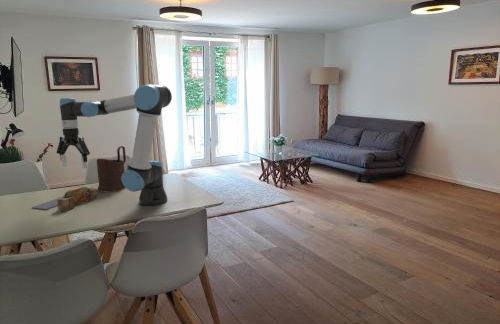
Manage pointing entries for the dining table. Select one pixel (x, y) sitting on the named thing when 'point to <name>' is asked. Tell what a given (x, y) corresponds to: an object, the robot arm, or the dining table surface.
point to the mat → (47, 205)
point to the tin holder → (67, 203)
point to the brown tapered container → (111, 173)
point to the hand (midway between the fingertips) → (74, 167)
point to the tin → (78, 195)
